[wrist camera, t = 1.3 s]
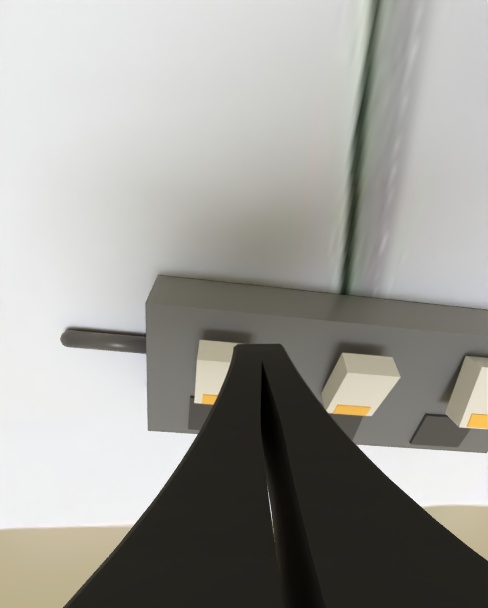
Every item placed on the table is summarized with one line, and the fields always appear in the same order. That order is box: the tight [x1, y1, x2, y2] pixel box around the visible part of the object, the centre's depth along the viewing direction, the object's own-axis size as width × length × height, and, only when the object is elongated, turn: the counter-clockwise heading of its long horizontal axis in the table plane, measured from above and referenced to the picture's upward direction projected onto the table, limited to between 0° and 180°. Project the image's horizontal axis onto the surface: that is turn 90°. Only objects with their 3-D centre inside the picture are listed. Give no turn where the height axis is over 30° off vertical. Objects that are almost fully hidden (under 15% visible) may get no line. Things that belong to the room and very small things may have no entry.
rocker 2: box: [321, 353, 400, 416], centre depth 18 cm, size 3×4×1 cm
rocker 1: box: [194, 340, 241, 405], centre depth 17 cm, size 3×4×1 cm
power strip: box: [60, 275, 488, 453], centre depth 20 cm, size 28×9×3 cm, turn 83°
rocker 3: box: [445, 356, 488, 429], centre depth 18 cm, size 3×4×1 cm
